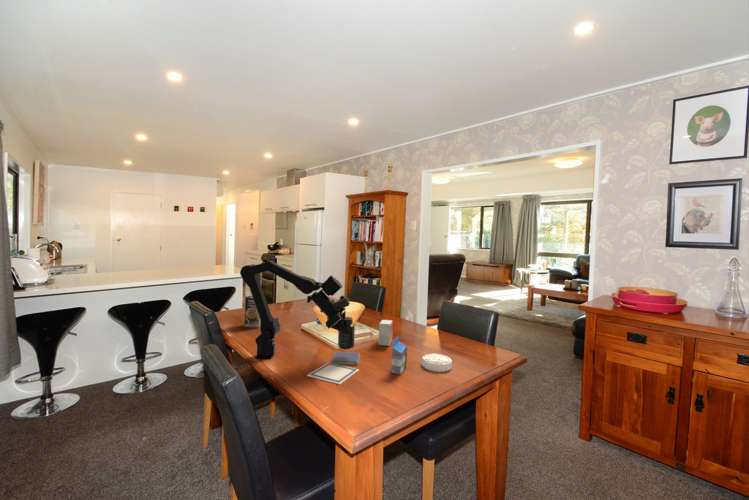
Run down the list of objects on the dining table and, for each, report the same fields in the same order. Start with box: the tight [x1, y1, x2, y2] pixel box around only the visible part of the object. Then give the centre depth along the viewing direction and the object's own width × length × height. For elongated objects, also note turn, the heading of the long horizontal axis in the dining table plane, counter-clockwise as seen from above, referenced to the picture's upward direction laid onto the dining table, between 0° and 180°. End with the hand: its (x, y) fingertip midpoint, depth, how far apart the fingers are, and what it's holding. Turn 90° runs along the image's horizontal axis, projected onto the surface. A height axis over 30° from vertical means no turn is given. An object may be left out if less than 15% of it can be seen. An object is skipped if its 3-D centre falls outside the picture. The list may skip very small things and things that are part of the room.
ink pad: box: [330, 351, 361, 366], centre depth 136 cm, size 11×11×1 cm
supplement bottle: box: [337, 316, 356, 350], centre depth 136 cm, size 7×7×12 cm
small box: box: [378, 319, 394, 347], centre depth 159 cm, size 8×6×10 cm
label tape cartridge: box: [390, 335, 408, 376], centre depth 127 cm, size 9×4×12 cm, turn 160°
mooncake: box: [421, 352, 453, 373], centre depth 133 cm, size 12×12×4 cm
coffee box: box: [244, 295, 267, 329], centre depth 181 cm, size 9×6×16 cm
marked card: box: [306, 362, 360, 385], centre depth 123 cm, size 14×14×1 cm
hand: (349, 331), depth 136 cm, fingers closed on supplement bottle, 7 cm apart
